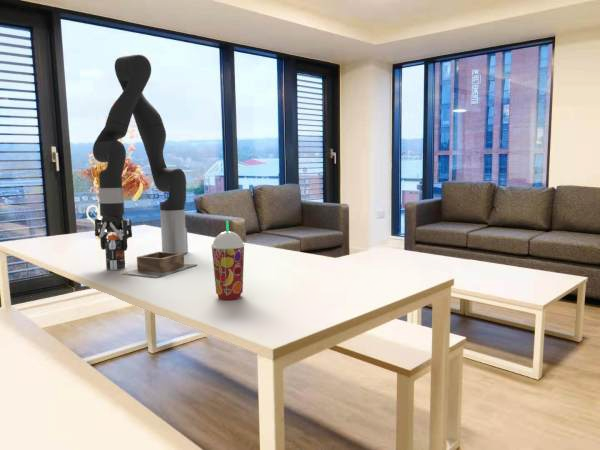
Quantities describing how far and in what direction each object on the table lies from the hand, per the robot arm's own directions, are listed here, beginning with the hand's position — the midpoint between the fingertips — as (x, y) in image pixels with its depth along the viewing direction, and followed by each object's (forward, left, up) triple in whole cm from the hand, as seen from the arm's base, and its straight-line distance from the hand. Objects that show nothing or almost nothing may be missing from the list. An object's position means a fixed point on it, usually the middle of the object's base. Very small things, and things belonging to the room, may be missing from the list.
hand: (114, 249), depth 162 cm
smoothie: (+16, +56, -7) cm, 59 cm away
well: (-4, +16, -6) cm, 18 cm away
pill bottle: (0, 0, -7) cm, 7 cm away
